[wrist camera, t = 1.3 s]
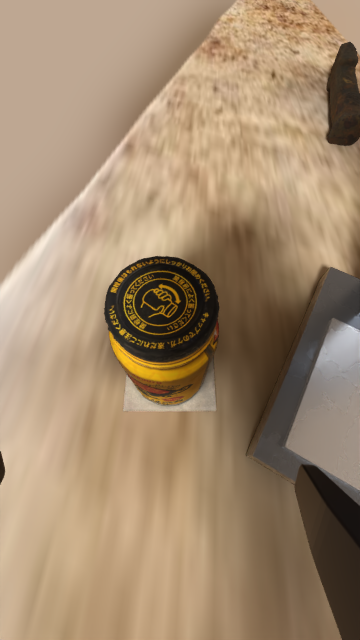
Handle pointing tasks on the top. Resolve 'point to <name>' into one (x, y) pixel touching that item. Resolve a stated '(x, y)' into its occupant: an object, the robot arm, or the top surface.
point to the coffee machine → (318, 392)
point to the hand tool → (344, 97)
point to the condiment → (164, 334)
